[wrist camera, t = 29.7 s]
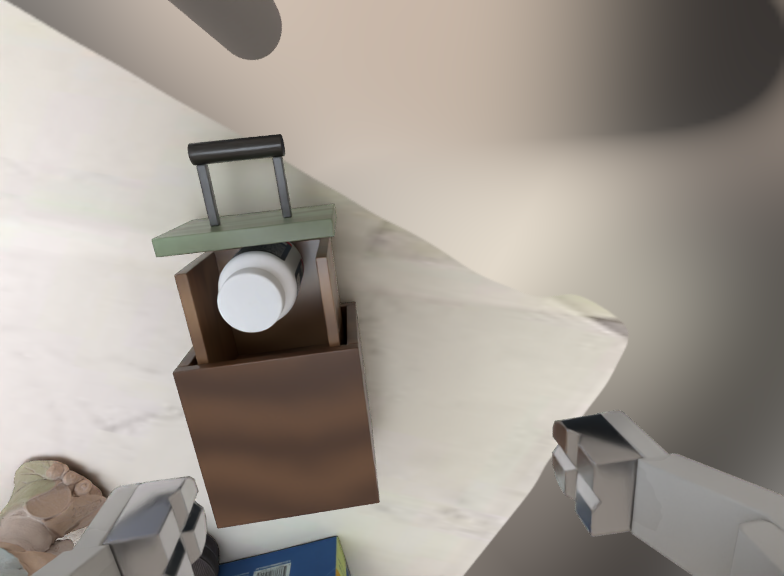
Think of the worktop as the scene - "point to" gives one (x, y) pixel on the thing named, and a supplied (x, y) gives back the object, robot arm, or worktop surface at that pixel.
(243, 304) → the pill bottle
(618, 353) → the worktop surface
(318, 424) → the cabinet
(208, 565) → the camera lens
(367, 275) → the worktop surface
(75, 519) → the figurine
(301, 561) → the protein box
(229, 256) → the drawer
